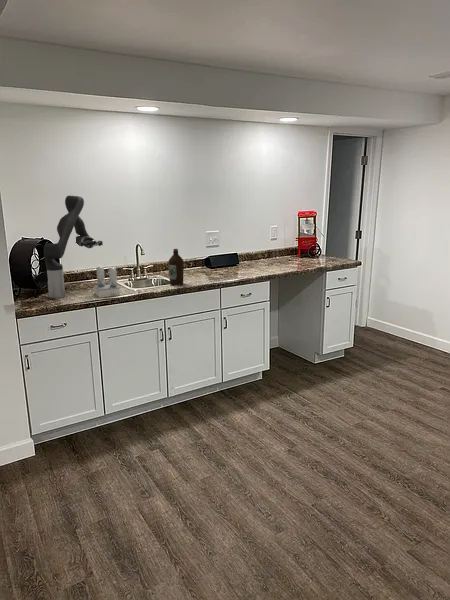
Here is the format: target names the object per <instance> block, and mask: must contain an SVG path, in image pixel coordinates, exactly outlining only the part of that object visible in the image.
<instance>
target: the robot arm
mask: <svg viewBox="0 0 450 600" xmlns="http://www.w3.org/2000/svg"><path fill="white" fill-rule="evenodd" d="M64 204H65V208H66V210H67V213H66V214H65V215H63V216H62V217H61V218H60V219H59V221H58V224H57V226H56V232H57V234H58V236H59V239H58V242H56V243H46V244H44V246H43V255H44V256H43V257H44V262H45V263H44V264H45V267H46V272H47V289H48V297H49V298H50V299H58V298H64V297H66V292H65V290H66V289H65V278H64V267H63V264H62V263H59V262H58V261H56V260H57V259H58V260H59V259H62V258H63V257H64V255H65V251H66V247H67V245H68V242H69V239H70V236H71V234H72V232H73V229H74V231H75V234H76V237H75V238H76V242H75V244H76V243H77V244H78V245H79V247H85V248H87V249H92V248H94V247H101V246H103V241H102V240H95V239H94V238H93V237H91V236H90V235H89V232H87V229H86V225H85V223H84V220H83V219H82V217H81V216H80V214H81V212H82V210H83V208H84V206H85V205H84V204H85V200H84V198H83V197H82V196H78V195H67V196H66V197H65V199H64ZM79 235H80V236H79ZM77 244H76V245H77ZM78 245H77V246H78Z"/></svg>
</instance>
